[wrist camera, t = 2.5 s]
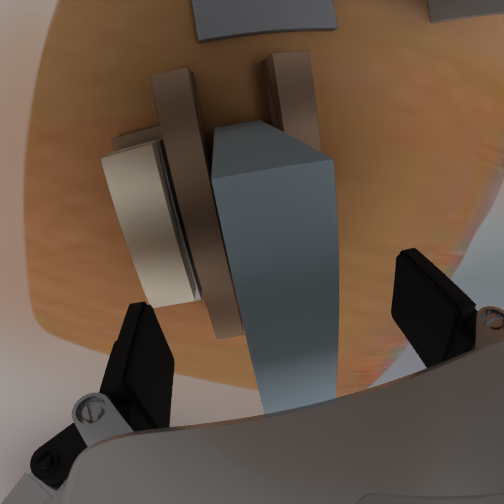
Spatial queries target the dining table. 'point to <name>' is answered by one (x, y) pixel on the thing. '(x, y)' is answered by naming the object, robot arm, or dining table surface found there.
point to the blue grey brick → (281, 258)
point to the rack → (199, 171)
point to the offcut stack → (151, 217)
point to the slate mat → (260, 17)
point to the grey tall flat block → (463, 9)
